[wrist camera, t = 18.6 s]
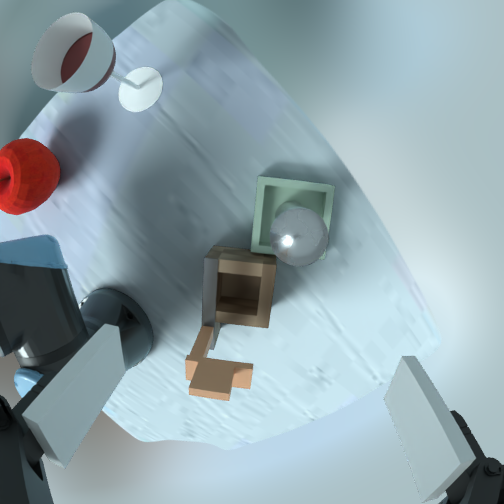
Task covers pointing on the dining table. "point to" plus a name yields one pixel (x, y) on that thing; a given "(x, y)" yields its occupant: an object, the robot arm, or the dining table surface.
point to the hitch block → (237, 288)
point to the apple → (26, 175)
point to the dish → (280, 191)
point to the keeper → (214, 370)
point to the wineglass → (89, 63)
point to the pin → (298, 234)
